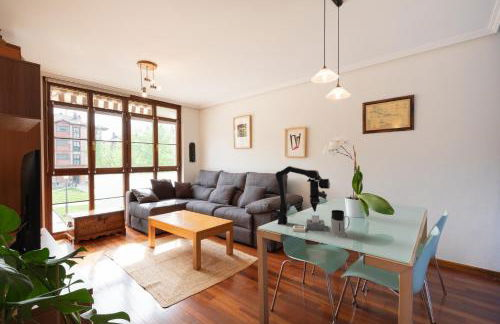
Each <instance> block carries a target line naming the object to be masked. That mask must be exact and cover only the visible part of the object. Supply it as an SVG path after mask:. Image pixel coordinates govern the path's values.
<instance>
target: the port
mask: <svg viewBox="0 0 500 324" xmlns="http://www.w3.org/2000/svg"><path fill="white" fill-rule="evenodd" d="M306 230H308V231H326V223H325V220H324V219H319V223H312V218H311V219H308V218H307V219H306Z"/></svg>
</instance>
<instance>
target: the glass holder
mask: <svg viewBox="0 0 500 324" xmlns="http://www.w3.org/2000/svg"><path fill="white" fill-rule="evenodd" d="M346 217H347V220H348V223H347V227H345V220H346ZM330 220H331V232H330V235H331V236H332V237H336V236H337V237H338V238H343V237H346V231H347V230H348V229H349V226H350V222H351V221H350V217H349V216H348V215H345V211H344V210H343V209H342V210H341V209H333V210H331V219H330ZM337 237H336V238H337Z"/></svg>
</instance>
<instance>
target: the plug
mask: <svg viewBox="0 0 500 324" xmlns="http://www.w3.org/2000/svg"><path fill="white" fill-rule="evenodd" d="M311 220H312V223H319V220H320V214H318V213H317V214H316V213H314V214H313V213H312V214H311Z"/></svg>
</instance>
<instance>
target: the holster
mask: <svg viewBox="0 0 500 324" xmlns="http://www.w3.org/2000/svg"><path fill="white" fill-rule="evenodd" d="M292 232H295V233H296V232H298V233H305V232H306V226H305V225H293V227H292Z"/></svg>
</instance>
